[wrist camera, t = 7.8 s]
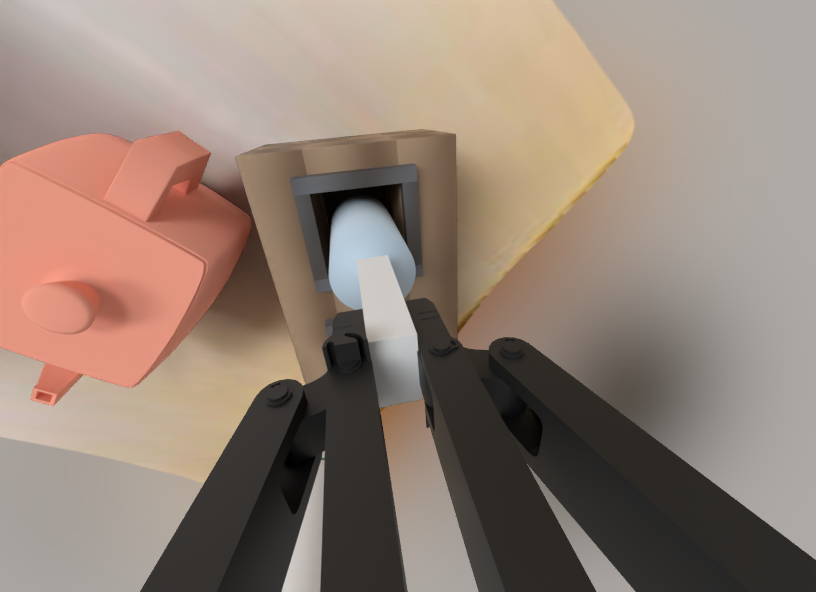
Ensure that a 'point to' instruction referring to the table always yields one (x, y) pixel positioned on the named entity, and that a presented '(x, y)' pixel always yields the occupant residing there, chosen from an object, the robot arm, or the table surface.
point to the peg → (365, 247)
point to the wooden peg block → (310, 233)
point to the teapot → (110, 255)
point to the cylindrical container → (308, 543)
